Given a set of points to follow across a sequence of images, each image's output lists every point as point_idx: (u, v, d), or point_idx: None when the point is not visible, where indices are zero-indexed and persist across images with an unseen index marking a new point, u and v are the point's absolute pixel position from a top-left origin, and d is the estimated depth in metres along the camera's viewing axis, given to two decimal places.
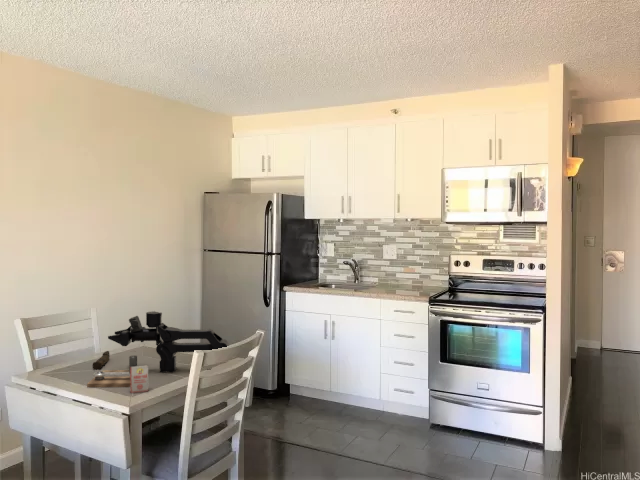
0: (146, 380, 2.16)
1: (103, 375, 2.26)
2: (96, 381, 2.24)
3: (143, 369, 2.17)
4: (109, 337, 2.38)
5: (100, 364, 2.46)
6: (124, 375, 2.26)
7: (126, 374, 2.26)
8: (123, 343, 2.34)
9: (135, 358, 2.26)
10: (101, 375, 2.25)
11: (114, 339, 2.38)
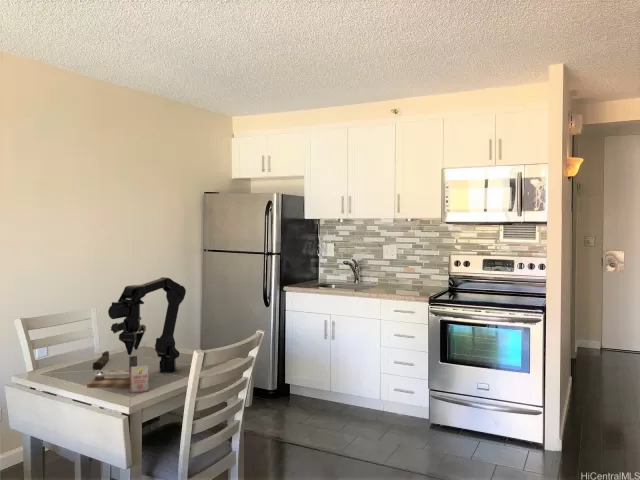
0: (146, 380, 2.16)
1: (103, 375, 2.26)
2: (96, 381, 2.24)
3: (143, 369, 2.17)
4: (129, 353, 2.22)
5: (100, 364, 2.46)
6: (124, 375, 2.26)
7: (126, 374, 2.26)
8: (130, 338, 2.18)
9: (135, 358, 2.26)
10: (101, 375, 2.25)
11: (130, 348, 2.21)
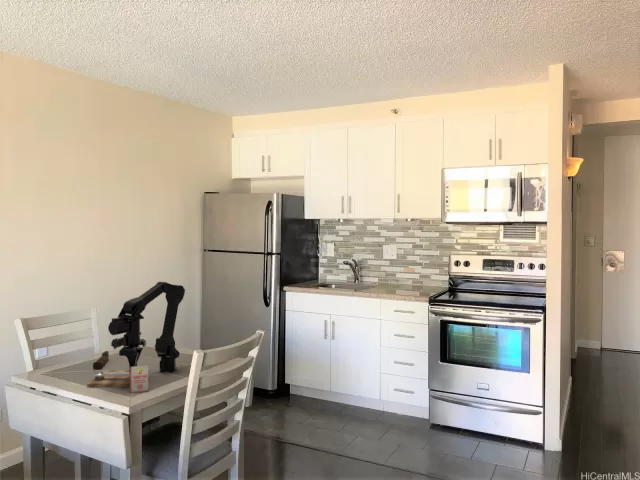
0: (146, 380, 2.16)
1: (103, 375, 2.26)
2: (96, 381, 2.24)
3: (143, 369, 2.17)
4: None
5: (100, 364, 2.46)
6: (124, 375, 2.26)
7: (126, 374, 2.26)
8: (130, 354, 2.18)
9: None
10: (101, 375, 2.25)
11: (133, 361, 2.24)
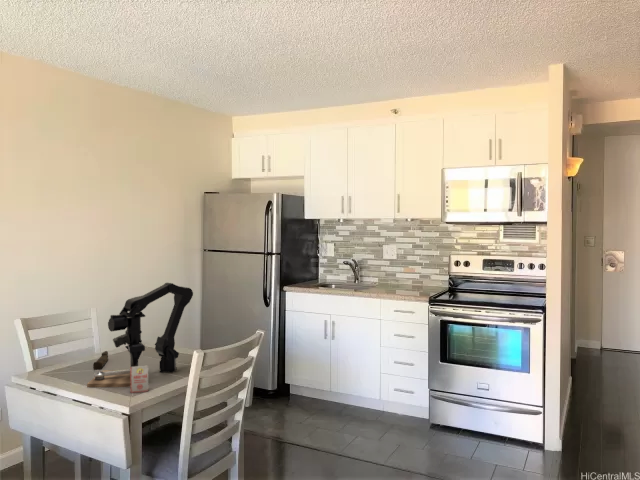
0: (146, 380, 2.16)
1: (104, 374, 2.26)
2: (96, 381, 2.24)
3: (143, 369, 2.17)
4: (134, 363, 2.31)
5: (101, 364, 2.46)
6: (126, 372, 2.30)
7: (128, 371, 2.31)
8: (141, 349, 2.25)
9: None
10: (103, 375, 2.26)
11: (137, 358, 2.30)
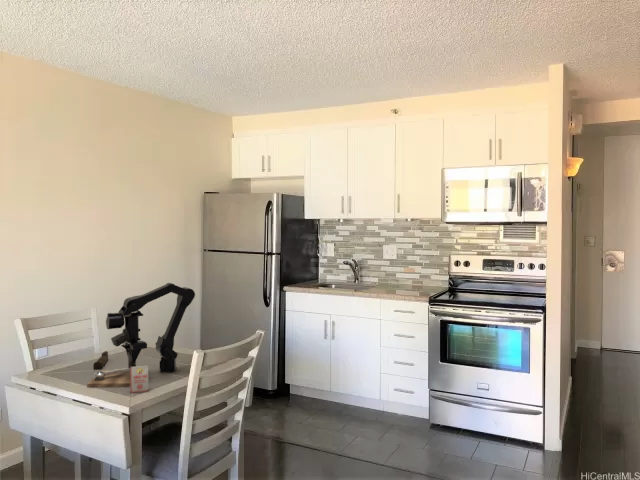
0: (146, 380, 2.16)
1: (105, 374, 2.27)
2: (96, 381, 2.24)
3: (143, 369, 2.17)
4: (134, 361, 2.34)
5: (101, 364, 2.46)
6: (125, 370, 2.33)
7: (127, 369, 2.33)
8: (144, 346, 2.30)
9: None
10: (104, 374, 2.26)
11: (136, 355, 2.34)
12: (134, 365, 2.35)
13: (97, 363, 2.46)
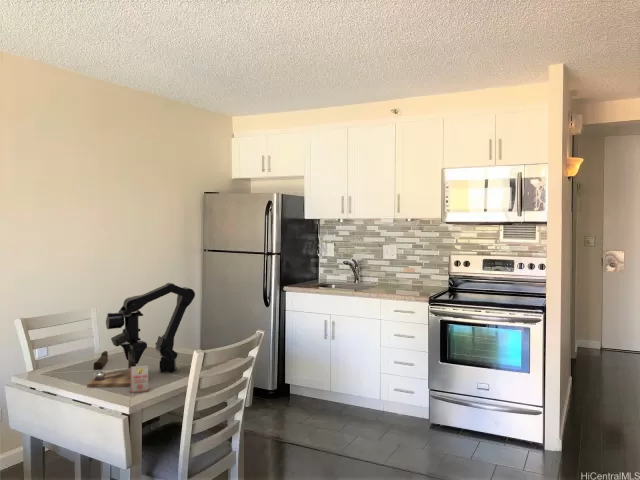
0: (146, 380, 2.16)
1: (105, 374, 2.27)
2: (96, 381, 2.24)
3: (143, 369, 2.17)
4: (136, 362, 2.32)
5: (101, 364, 2.46)
6: (125, 370, 2.33)
7: (127, 369, 2.33)
8: (144, 347, 2.30)
9: None
10: (104, 374, 2.26)
11: (138, 357, 2.32)
12: (134, 365, 2.35)
13: (97, 363, 2.46)
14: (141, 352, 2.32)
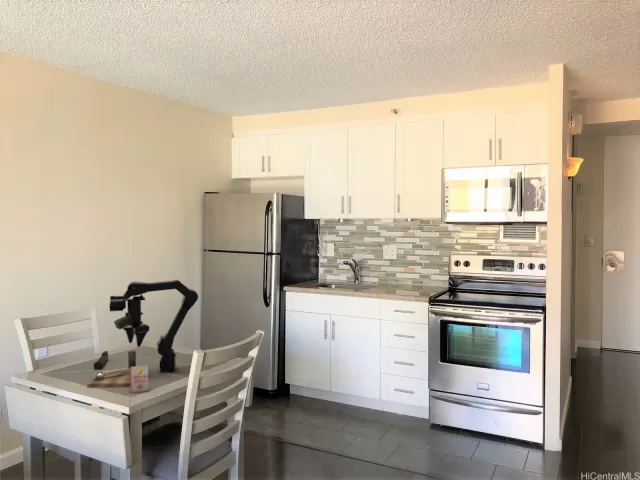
0: (146, 380, 2.16)
1: (105, 374, 2.27)
2: (96, 381, 2.24)
3: (143, 369, 2.17)
4: (139, 345, 2.36)
5: (101, 364, 2.46)
6: (125, 370, 2.33)
7: (127, 369, 2.33)
8: (146, 329, 2.34)
9: (135, 352, 2.36)
10: (104, 374, 2.26)
11: (141, 340, 2.36)
12: (134, 365, 2.35)
13: (97, 363, 2.46)
14: (143, 335, 2.36)
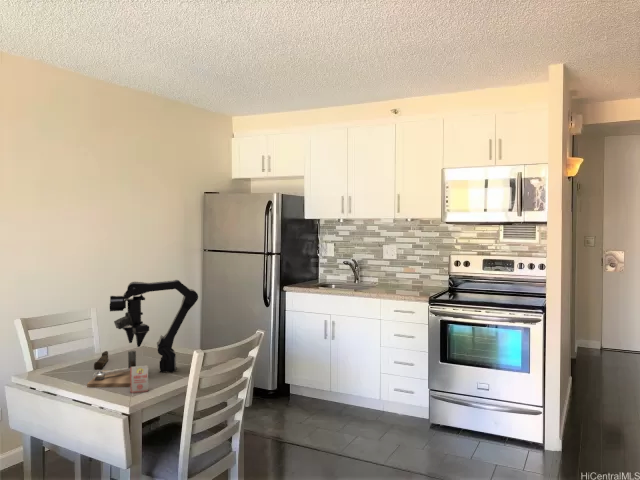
0: (146, 380, 2.16)
1: (105, 374, 2.27)
2: (96, 381, 2.24)
3: (143, 369, 2.17)
4: (139, 345, 2.36)
5: (102, 364, 2.46)
6: (125, 370, 2.33)
7: (127, 369, 2.33)
8: (146, 329, 2.34)
9: (135, 352, 2.36)
10: (104, 374, 2.26)
11: (141, 340, 2.36)
12: (134, 365, 2.35)
13: (97, 363, 2.46)
14: (143, 335, 2.36)
